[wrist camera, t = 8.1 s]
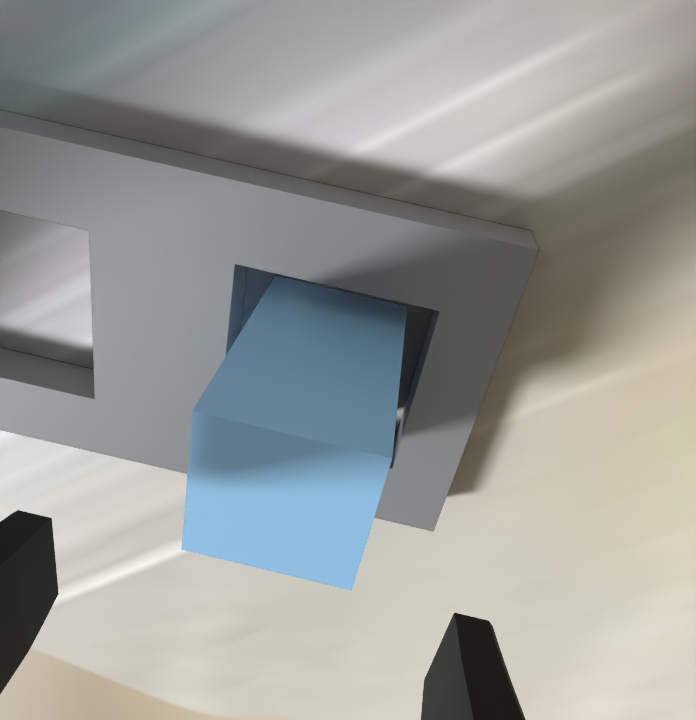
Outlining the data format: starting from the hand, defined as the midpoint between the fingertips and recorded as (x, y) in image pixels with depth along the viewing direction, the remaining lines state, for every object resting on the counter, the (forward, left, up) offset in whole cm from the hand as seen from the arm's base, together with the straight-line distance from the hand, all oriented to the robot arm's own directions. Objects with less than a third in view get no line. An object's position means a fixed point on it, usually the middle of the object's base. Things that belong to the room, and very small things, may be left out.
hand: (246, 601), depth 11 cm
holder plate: (-4, +2, -9) cm, 10 cm away
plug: (0, 0, -9) cm, 9 cm away
